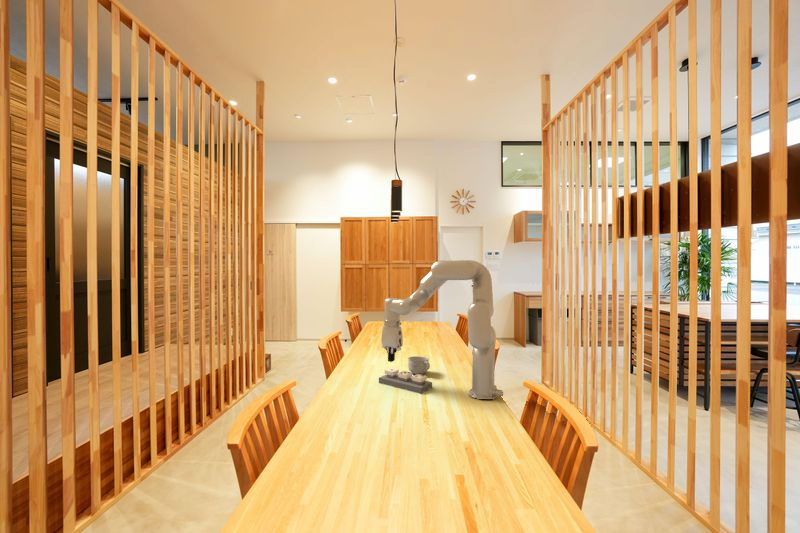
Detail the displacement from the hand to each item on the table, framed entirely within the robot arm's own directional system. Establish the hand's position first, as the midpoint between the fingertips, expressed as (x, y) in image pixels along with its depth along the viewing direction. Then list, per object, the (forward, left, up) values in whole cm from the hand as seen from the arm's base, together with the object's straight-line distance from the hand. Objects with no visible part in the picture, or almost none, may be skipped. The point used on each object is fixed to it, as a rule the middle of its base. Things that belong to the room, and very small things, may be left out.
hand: (391, 361), depth 179 cm
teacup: (-4, -19, -10) cm, 22 cm away
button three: (-8, 0, -8) cm, 12 cm away
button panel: (-8, 0, -10) cm, 13 cm away
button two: (-16, 0, -8) cm, 18 cm away
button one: (0, 0, -9) cm, 9 cm away
